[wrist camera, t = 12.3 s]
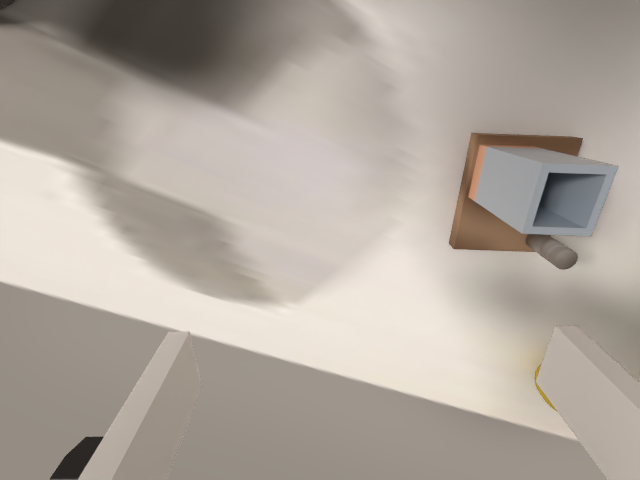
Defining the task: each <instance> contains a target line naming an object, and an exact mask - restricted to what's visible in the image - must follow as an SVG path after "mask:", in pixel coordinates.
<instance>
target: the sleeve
mask: <svg viewBox="0 0 640 480" xmlns="http://www.w3.org/2000/svg"><path fill="white" fill-rule="evenodd" d="M617 169H618V166H616V165H611V164H607V163H603V162H599V161H594V160H590V159H586V158H581V157H577V156H573V155H568V154H564V153H560V152H555V151H551V150H547V149H542V148H538V147H534V146H507V145H479V150H478V154H477V159H476V164H475V168H474V173H473V177H472V182H471V186H470V191H469V196H468V197H469V198H471V199H472V200H473V201H475V202H476V203H478V204H479V205H481V206H482V207H484V208H485V209H487V210H488V211H490V212H491V213H492V214H494V215H495V216H497V217H498V218H500V219H501V220H503V221H504V222H506V223H507V224H508V225H510V226H511V227H513V228H514V229H516V230H517V231H519V232H520V233H522V234H543V235H571V236H592V233H593V231H594V228H595V226H596V223H597V220H598V218H599V215H600V213H601V210H602V208H603V205H604V202H605V200H606V197H607V195H608V192H609V190H610V187H611V184H612V182H613V179H614V177H615V174H616V172H617Z"/></svg>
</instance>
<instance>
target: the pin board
mask: <svg viewBox="0 0 640 480" xmlns="http://www.w3.org/2000/svg"><path fill="white" fill-rule="evenodd" d="M582 140H583V138H577V137H567V136H540V135H512V134H485V133H472V134H471V139H470V144H469V148H468V153H467V158H466V163H465V168H464V173H463V178H462V182H461V187H460V192H459V197H458V202H457V207H456V212H455V216H454V221H453V226H452V231H451V236H450V241H449V244H450V245H451V246H452V248H453V249H469V250H497V251H525V252H537V253H538V254H540V255H541V256H542V257H544V258H545V259H546V260H548V261H549V262H551V263H552V264H553V265H555V266H556V267H557V268H559V269H568V268H570V267H572V266H573V265H574V264H575V263H576V261H577V258H578V256H577V254H576V252H574V251H573V250H571V249H569V248H568V247H566V246H564V245H563V244H561V243H560V242H558V241H556V240H555V239H553V238H551V237H550V235H543V234H522V233H520V232H519V231H517V230H516V229H514V228H513V227H511V226H510V225H508V224H507V223H506V222H504V221H503V220H501V219H500V218H498V217H497V216H495V215H494V214H492V213H491V212H490V211H488V210H487V209H485V208H484V207H482V206H481V205H479V204H478V203H476V202H475V201H473V200H472V199H471V198H469V197H468V196H469V191H470V186H471V182H472V177H473V173H474V168H475V164H476V159H477V154H478V150H479V145H507V146H534V147H538V148H542V149H547V150H551V151H555V152H560V153H564V154H568V155H573V156H577V155H578V152H579V149H580V146H581V143H582Z"/></svg>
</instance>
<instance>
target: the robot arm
mask: <svg viewBox="0 0 640 480" xmlns="http://www.w3.org/2000/svg"><path fill="white" fill-rule="evenodd" d="M13 1H14V0H0V9H2V8H4V7H6V6H7V5H9V4H10V3H11V2H13ZM536 383H537V384H538V386H539V387H540V389H541V390H542V391H543V393H544V394H545V395H546V397H547V398H548V399H549V401H550V402H551V403H552V405H553V406H554V407H555V409H556V410H557V411H558V413H559V414H560V416H561V417H562V418H563V420H564V421H565V422H566V424H567V425H568V426H569V428H570V429H571V430H572V432H573V433H574V434H575V436H576V437H577V438H578V440H579V441H580V442H581V444H582V445H583V447H584V448H585V449H586V450H587V452H588V453H589V455H590V456H591V457H592V459H593V460H594V461H595V462H596V464H597V465H598V467H599V468H600V469H601V471H602V472H603V474H604V475H605V476H606V478H607V479H608V480H640V383H639V382H638V381H637V380H636V379H635V378H633V377H632V376H631V375H630V374H629V373H628V372H627V371H626V370H625V369H624V368H623V367H621V366H620V365H619V364H618V363H617V362H616V361H615V360H614V359H613V358H612V357H611V356H609V355H608V354H607V353H606V352H605V351H604V350H603V349H602V348H601V347H600V346H599V345H597V344H596V343H595V342H594V341H593V340H592V339H591V338H590V337H589V336H588V335H587V334H585V333H584V332H583V331H582V330H581V329H580V328H579V327H578V326H577V325H566V326H555V328H554V330H553V333H552V336H551V339H550V342H549V345H548V347H547V350H546V353H545V356H544V359H543V362H542V365H541V367H540V370H539V373H538V376H537V379H536ZM201 389H202V384H201V380H200V375H199V371H198V366H197V362H196V358H195V353H194V349H193V344H192V340H191V335H190V332H168V333H167V335H166V337H165V338H164V340H163V342H162V343H161V345H160V347H159V348H158V350H157V351H156V353H155V355H154V356H153V358H152V360H151V361H150V363H149V364H148V366H147V368H146V369H145V371H144V372H143V374H142V376H141V377H140V379H139V381H138V382H137V384H136V385H135V387H134V389H133V390H132V392H131V394H130V395H129V397H128V399H127V400H126V402H125V403H124V405H123V407H122V408H121V410H120V412H119V413H118V415H117V417H116V418H115V420H114V422H113V423H112V425H111V426H110V428H109V430H108V431H107V433H106V435H105V436H104V437H85V438H84V439H83V440H82V441H81V442H80V443H79V444H78V445H77V446H76V447H75V448H74V449H72V450H71V451H70V452H69V453H68V454H67V455H66V456H65V457H64V459H63V460H62V462H61V463H60V465H59V466H58V468H57V469H56V471H55V472H54V473H53V475H52V476H51V478H50V480H166V479H167V477H168V474H169V472H170V469H171V467H172V464H173V461H174V459H175V456H176V453H177V451H178V448H179V446H180V443H181V441H182V438H183V435H184V433H185V430H186V428H187V425H188V423H189V420H190V417H191V415H192V412H193V409H194V407H195V405H196V402H197V399H198V397H199V394H200V392H201Z"/></svg>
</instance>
